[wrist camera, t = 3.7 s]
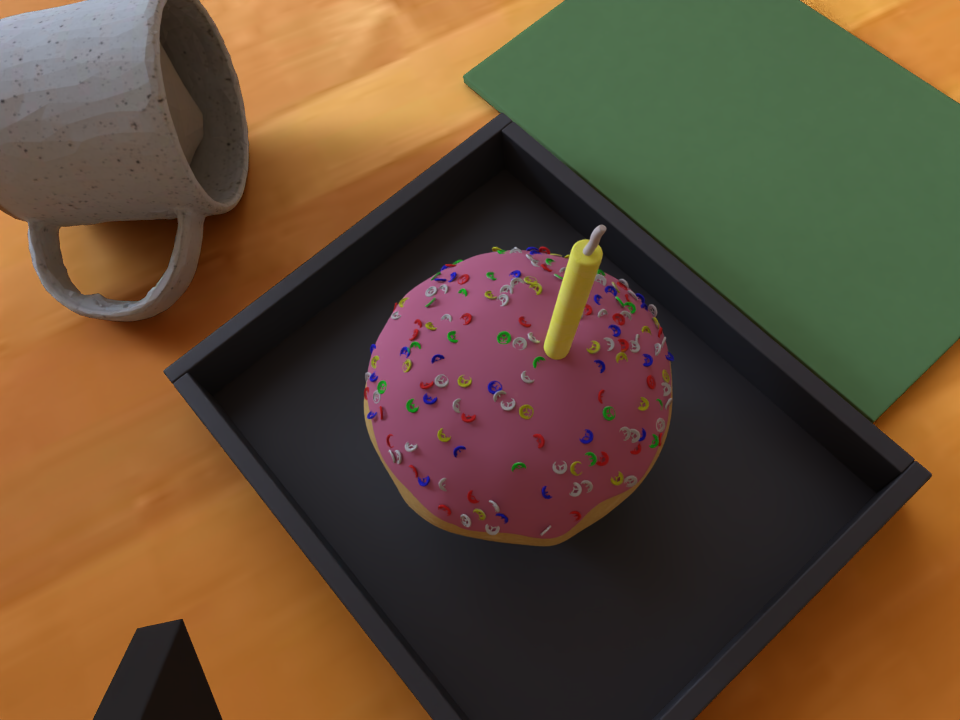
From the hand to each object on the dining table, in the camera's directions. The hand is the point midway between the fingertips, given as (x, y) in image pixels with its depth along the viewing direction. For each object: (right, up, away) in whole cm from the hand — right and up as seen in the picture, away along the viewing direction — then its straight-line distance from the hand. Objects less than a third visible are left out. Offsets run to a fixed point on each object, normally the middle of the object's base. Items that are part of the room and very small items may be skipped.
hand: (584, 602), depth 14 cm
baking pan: (0, +1, +14) cm, 14 cm away
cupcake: (0, +1, +14) cm, 14 cm away
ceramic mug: (-14, +10, +19) cm, 26 cm away
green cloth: (+9, +12, +18) cm, 23 cm away
